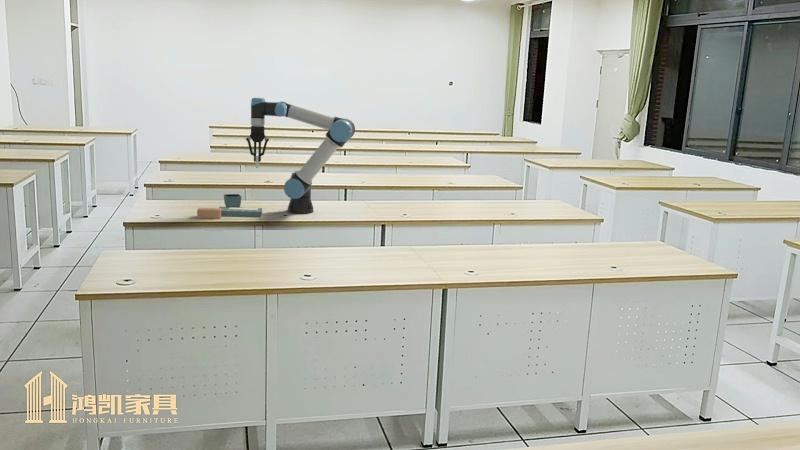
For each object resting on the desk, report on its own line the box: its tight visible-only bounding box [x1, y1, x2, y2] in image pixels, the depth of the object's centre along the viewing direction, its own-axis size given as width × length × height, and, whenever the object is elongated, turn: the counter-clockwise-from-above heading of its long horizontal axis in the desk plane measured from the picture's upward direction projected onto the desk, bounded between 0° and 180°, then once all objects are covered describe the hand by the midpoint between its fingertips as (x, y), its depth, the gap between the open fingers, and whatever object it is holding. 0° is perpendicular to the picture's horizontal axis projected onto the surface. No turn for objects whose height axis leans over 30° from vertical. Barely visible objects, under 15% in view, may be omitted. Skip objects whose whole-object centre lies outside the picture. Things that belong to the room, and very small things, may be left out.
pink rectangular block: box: [196, 207, 222, 219], centre depth 370 cm, size 12×6×5 cm, turn 98°
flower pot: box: [223, 193, 243, 207], centre depth 390 cm, size 9×9×9 cm
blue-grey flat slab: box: [218, 206, 263, 218], centre depth 381 cm, size 24×11×3 cm, turn 98°
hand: (257, 167), depth 382 cm, fingers closed
